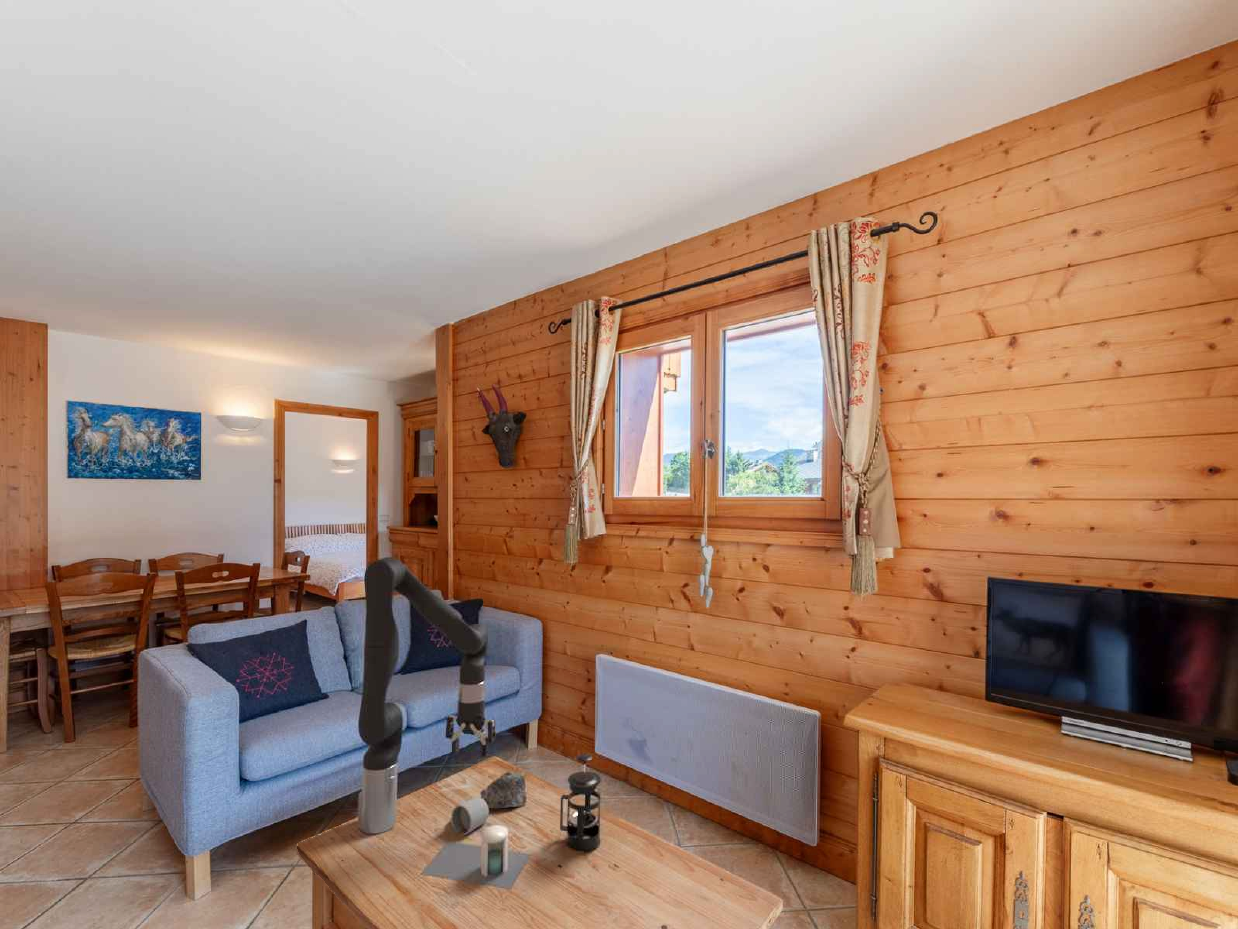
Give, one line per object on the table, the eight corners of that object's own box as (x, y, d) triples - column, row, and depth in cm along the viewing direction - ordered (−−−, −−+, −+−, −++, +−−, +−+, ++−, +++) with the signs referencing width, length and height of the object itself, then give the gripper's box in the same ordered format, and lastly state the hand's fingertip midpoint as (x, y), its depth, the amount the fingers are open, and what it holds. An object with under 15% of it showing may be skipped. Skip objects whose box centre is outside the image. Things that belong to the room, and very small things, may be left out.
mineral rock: (477, 811, 177) (478, 776, 177) (491, 793, 188) (492, 760, 188) (518, 816, 175) (519, 781, 175) (530, 798, 185) (531, 765, 186)
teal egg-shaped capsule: (483, 873, 148) (483, 858, 148) (490, 863, 152) (490, 849, 152) (498, 875, 147) (498, 861, 147) (504, 865, 151) (505, 851, 151)
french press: (605, 834, 166) (607, 750, 167) (599, 855, 157) (600, 766, 158) (564, 830, 168) (566, 747, 169) (556, 850, 159) (557, 762, 160)
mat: (419, 875, 147) (419, 873, 147) (447, 842, 161) (447, 841, 161) (511, 891, 142) (511, 889, 142) (531, 855, 156) (531, 854, 156)
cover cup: (476, 875, 147) (477, 838, 148) (487, 859, 153) (488, 823, 154) (500, 879, 146) (501, 841, 146) (511, 863, 152) (511, 827, 152)
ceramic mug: (490, 825, 170) (491, 797, 170) (470, 839, 163) (470, 810, 163) (463, 814, 175) (464, 788, 176) (442, 828, 168) (443, 800, 169)
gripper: (442, 699, 168) (440, 758, 167) (489, 704, 165) (487, 764, 164) (454, 690, 175) (453, 747, 174) (500, 695, 172) (498, 752, 171)
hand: (470, 755), depth 169 cm, fingers open, 8 cm apart
